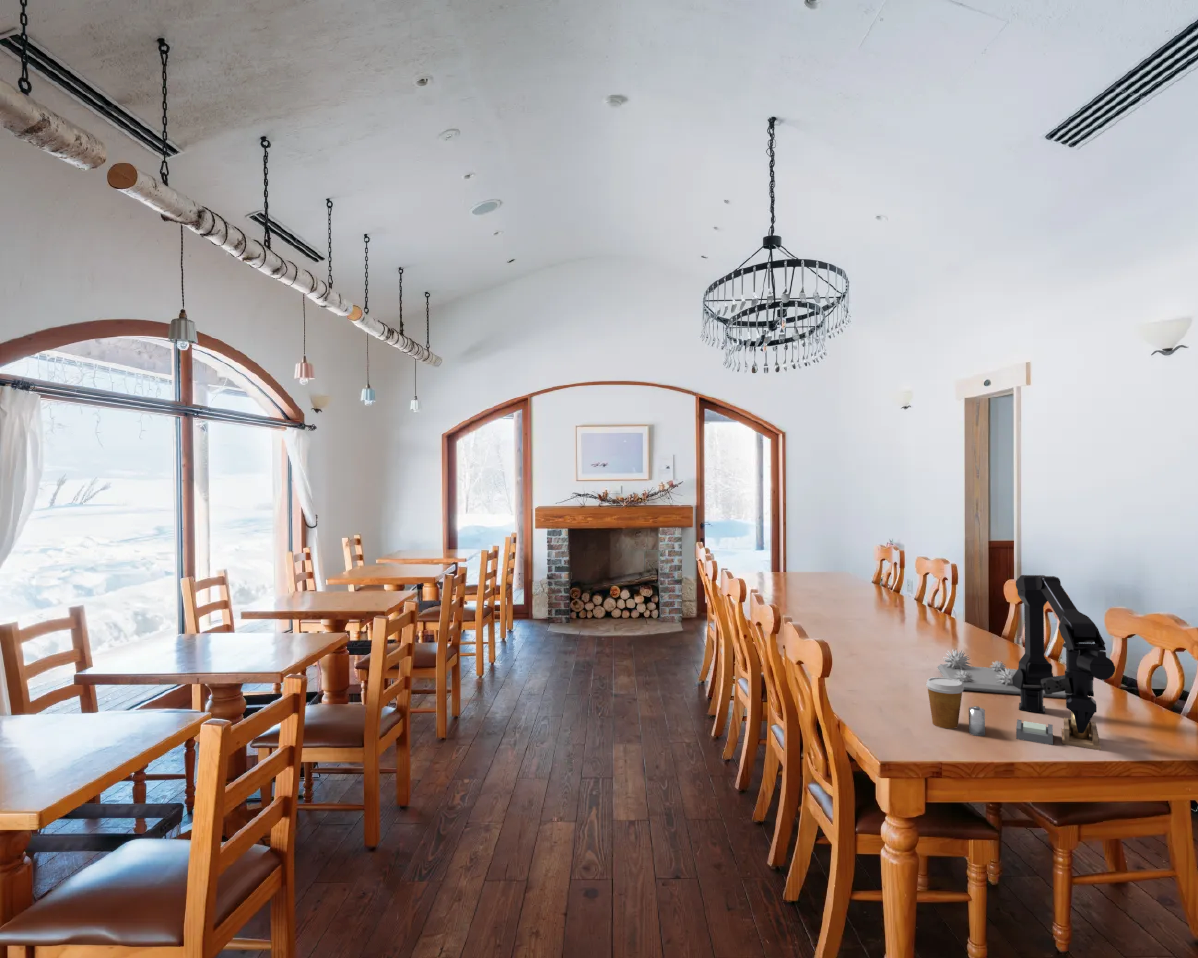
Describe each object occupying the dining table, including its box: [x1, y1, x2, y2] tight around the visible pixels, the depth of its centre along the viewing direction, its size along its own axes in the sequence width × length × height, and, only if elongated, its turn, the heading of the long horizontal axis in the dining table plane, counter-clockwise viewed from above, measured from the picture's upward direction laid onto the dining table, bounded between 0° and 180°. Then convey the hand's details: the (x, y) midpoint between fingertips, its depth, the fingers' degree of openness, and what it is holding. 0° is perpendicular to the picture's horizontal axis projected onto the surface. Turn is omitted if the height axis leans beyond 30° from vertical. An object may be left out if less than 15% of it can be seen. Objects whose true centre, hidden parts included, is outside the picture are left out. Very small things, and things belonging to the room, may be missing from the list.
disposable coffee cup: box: [925, 676, 965, 730], centre depth 192 cm, size 10×10×12 cm
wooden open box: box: [1061, 717, 1102, 751], centre depth 180 cm, size 10×8×4 cm
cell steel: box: [968, 705, 986, 737], centre depth 185 cm, size 4×4×7 cm
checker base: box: [1015, 718, 1054, 746], centre depth 182 cm, size 8×8×3 cm
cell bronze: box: [1070, 711, 1089, 739], centre depth 180 cm, size 4×4×7 cm
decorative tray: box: [936, 647, 1066, 699], centre depth 231 cm, size 35×26×10 cm
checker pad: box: [1022, 720, 1047, 734], centre depth 182 cm, size 5×5×1 cm
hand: (1080, 729), depth 180 cm, fingers open, 6 cm apart
